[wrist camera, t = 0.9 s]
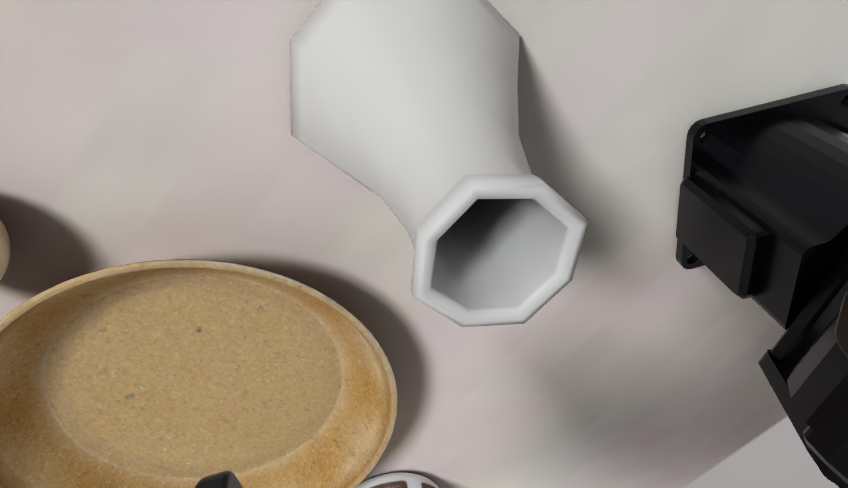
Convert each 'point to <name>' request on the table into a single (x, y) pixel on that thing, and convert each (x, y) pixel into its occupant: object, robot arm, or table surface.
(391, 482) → the supplement bottle
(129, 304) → the plant saucer
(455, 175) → the flask
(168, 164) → the table surface
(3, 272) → the beige ball
